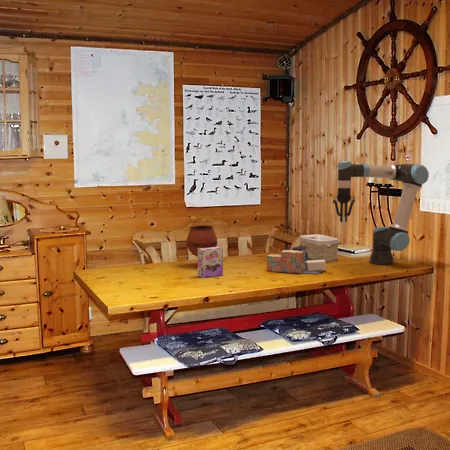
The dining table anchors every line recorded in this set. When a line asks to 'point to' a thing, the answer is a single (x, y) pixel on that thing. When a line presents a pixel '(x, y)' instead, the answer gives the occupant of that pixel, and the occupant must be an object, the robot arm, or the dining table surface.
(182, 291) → the dining table surface
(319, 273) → the pad
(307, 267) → the tall block
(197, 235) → the terracotta clay vase
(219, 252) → the candy box
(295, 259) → the stack of blocks
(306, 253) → the small box
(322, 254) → the storage basket
